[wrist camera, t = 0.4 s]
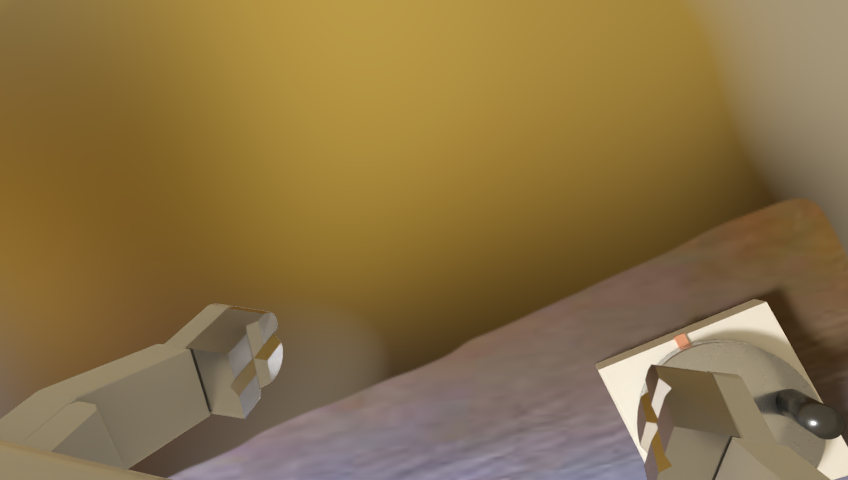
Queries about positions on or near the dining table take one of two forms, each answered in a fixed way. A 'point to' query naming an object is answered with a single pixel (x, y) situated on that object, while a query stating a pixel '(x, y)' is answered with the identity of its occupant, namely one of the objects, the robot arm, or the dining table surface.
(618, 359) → the wheel base
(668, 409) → the robot arm
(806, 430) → the handwheel
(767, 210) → the dining table surface
